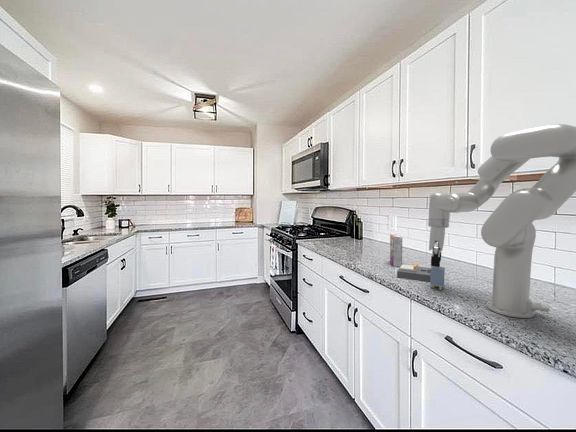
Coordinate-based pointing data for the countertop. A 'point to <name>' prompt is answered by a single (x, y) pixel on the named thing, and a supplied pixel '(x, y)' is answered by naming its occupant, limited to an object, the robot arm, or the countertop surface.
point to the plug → (437, 276)
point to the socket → (415, 274)
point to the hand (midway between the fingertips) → (435, 263)
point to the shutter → (409, 267)
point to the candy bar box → (396, 250)
